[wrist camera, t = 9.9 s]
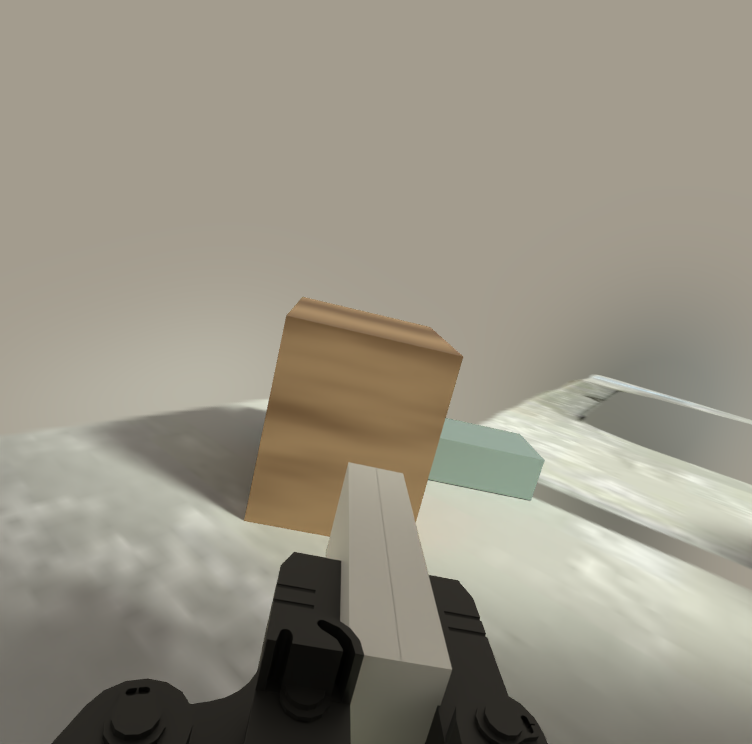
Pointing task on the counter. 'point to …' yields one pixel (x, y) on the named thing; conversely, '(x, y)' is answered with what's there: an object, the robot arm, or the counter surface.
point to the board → (486, 460)
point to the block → (348, 411)
